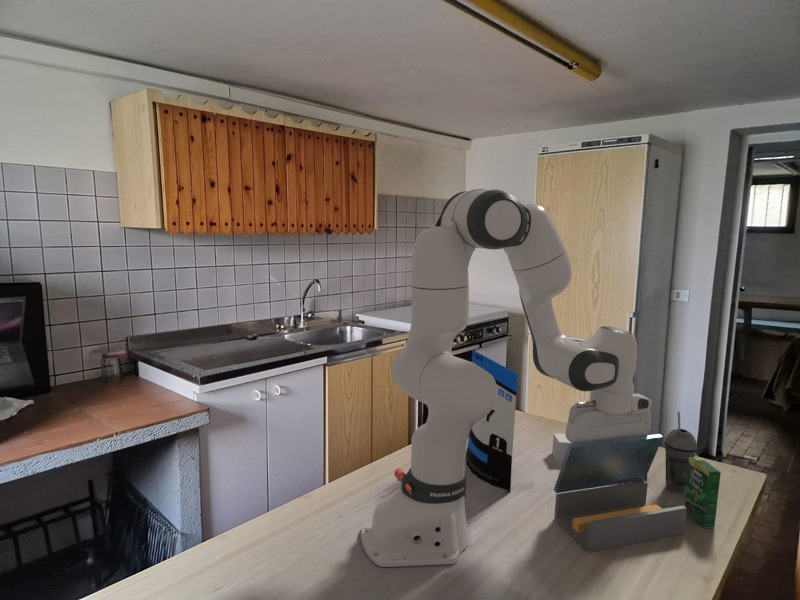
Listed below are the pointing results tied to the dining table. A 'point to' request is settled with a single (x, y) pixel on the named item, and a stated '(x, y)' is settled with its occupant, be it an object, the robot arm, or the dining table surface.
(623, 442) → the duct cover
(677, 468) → the beverage cup
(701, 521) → the coffee box
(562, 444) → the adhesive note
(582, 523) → the amber wooden bar
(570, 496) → the duct trough
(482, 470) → the protein powder
